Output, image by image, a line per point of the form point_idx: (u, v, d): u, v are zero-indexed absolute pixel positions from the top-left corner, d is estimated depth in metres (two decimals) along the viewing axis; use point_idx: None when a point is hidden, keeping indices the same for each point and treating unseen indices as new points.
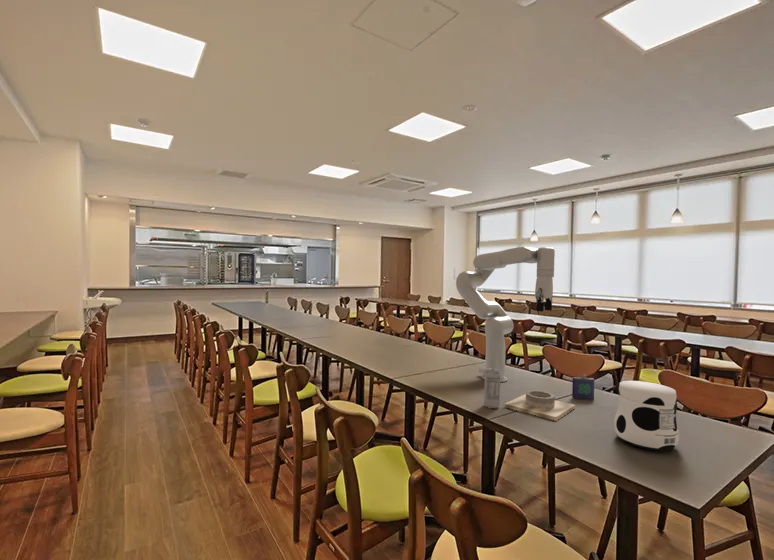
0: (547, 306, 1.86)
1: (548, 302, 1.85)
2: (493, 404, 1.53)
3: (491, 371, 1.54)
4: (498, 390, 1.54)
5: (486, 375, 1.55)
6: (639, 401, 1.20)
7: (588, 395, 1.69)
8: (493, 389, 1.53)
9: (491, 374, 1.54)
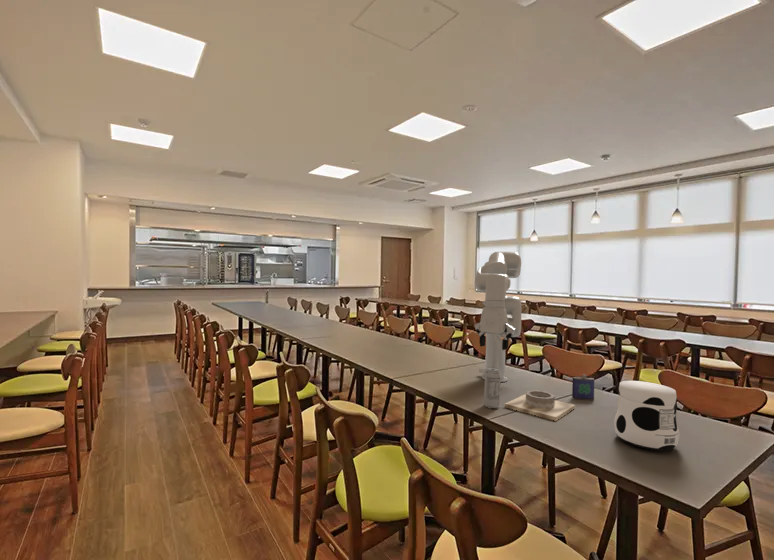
0: (483, 341, 1.59)
1: (483, 336, 1.59)
2: (493, 404, 1.53)
3: (491, 371, 1.54)
4: (498, 390, 1.54)
5: (486, 375, 1.55)
6: (639, 401, 1.20)
7: (588, 395, 1.69)
8: (493, 389, 1.53)
9: (491, 374, 1.54)
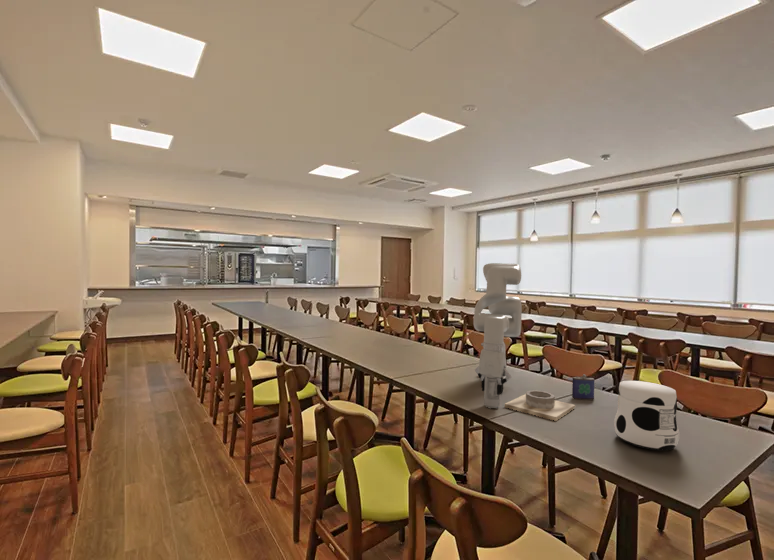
0: None
1: None
2: (493, 404, 1.53)
3: None
4: None
5: (486, 375, 1.55)
6: (639, 401, 1.20)
7: (588, 395, 1.69)
8: (493, 389, 1.53)
9: None
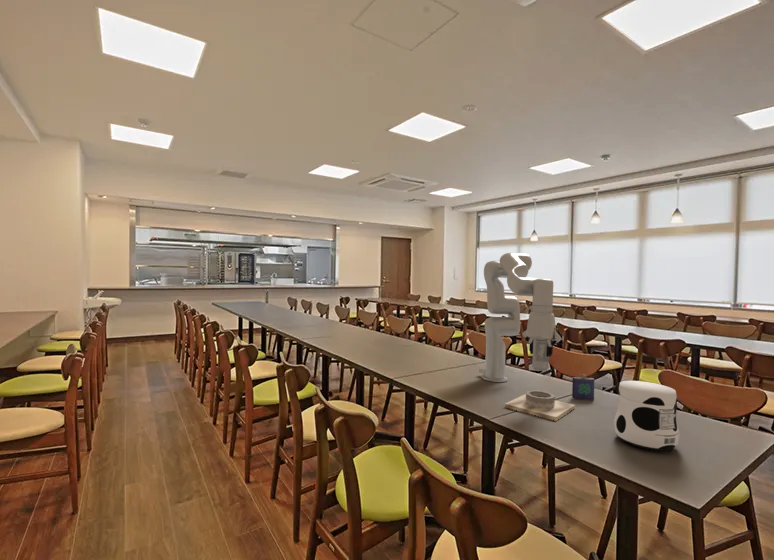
0: None
1: None
2: (543, 366, 1.53)
3: None
4: None
5: (535, 337, 1.55)
6: (639, 401, 1.20)
7: (588, 395, 1.69)
8: (542, 351, 1.53)
9: None
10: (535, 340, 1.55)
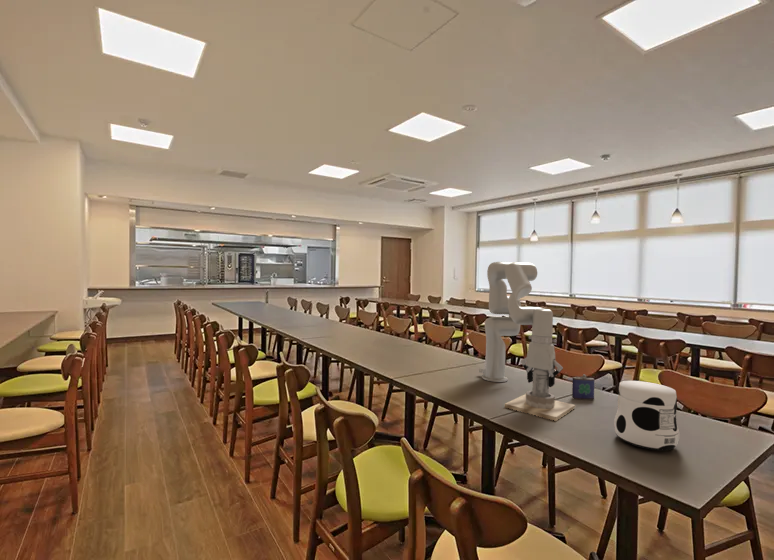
0: (531, 377, 1.59)
1: (531, 372, 1.59)
2: None
3: None
4: (547, 387, 1.54)
5: (535, 372, 1.55)
6: (639, 401, 1.20)
7: (588, 395, 1.69)
8: (542, 386, 1.53)
9: (541, 371, 1.54)
10: (535, 375, 1.55)
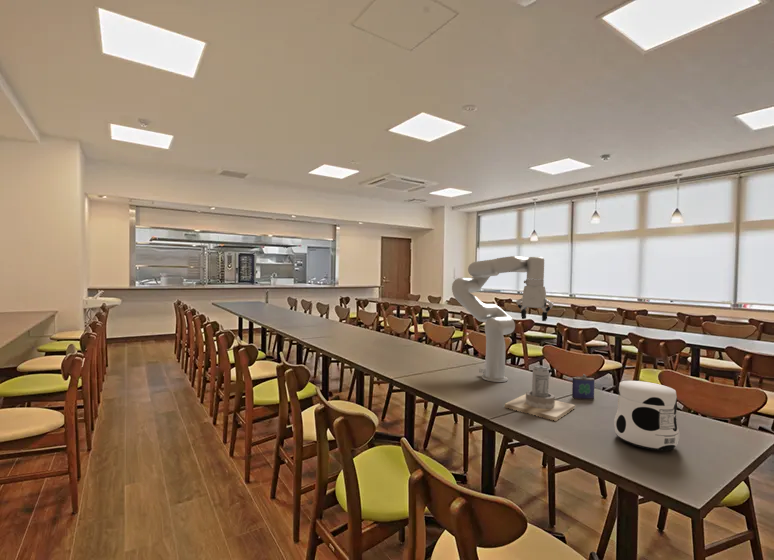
0: (524, 315, 1.87)
1: (524, 310, 1.87)
2: None
3: (540, 369, 1.54)
4: (547, 387, 1.54)
5: (534, 373, 1.55)
6: (639, 401, 1.20)
7: (588, 395, 1.69)
8: (542, 387, 1.53)
9: (540, 371, 1.54)
10: (534, 375, 1.55)
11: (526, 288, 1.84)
